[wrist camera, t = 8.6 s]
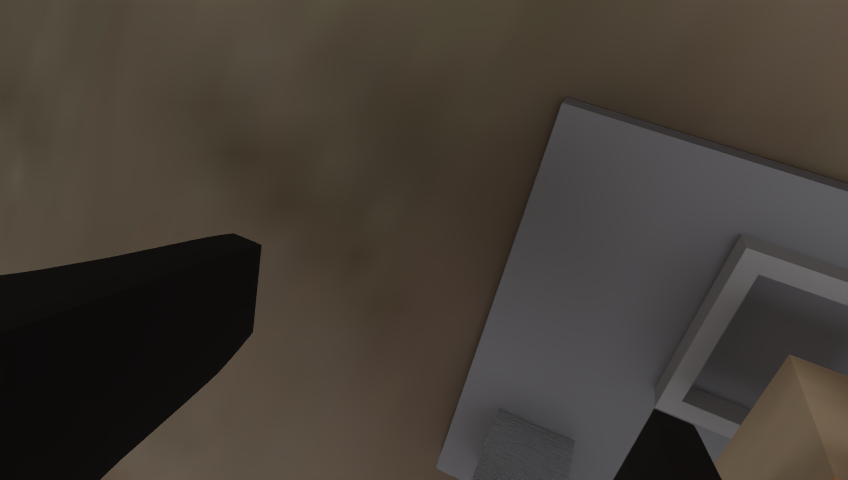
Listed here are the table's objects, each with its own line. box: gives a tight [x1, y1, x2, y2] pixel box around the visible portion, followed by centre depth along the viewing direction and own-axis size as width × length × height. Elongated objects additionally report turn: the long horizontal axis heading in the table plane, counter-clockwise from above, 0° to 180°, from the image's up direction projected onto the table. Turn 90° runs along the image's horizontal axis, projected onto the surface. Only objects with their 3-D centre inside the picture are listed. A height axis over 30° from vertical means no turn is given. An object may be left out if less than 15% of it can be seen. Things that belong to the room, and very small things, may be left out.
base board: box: [436, 97, 848, 480], centre depth 19 cm, size 16×16×2 cm
